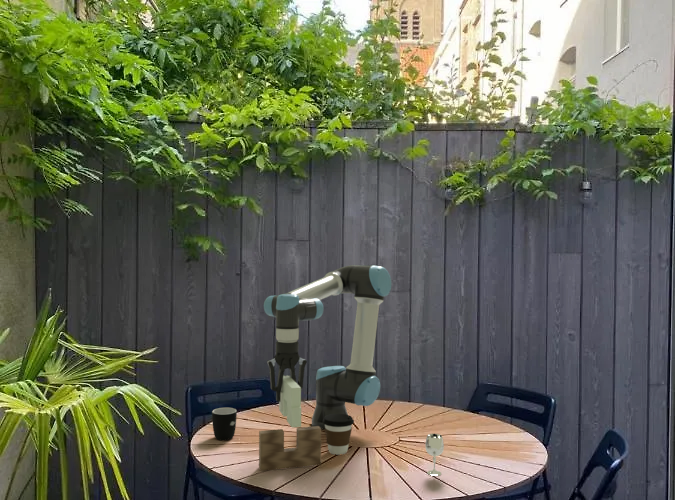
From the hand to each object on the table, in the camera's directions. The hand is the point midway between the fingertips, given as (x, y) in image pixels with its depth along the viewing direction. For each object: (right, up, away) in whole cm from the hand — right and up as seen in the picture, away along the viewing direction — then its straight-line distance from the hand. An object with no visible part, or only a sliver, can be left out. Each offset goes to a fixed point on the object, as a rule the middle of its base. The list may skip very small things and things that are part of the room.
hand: (286, 410), depth 205 cm
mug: (-25, -17, +25) cm, 39 cm away
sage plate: (+2, -1, -5) cm, 6 cm away
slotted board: (+2, -17, -5) cm, 18 cm away
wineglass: (+48, -18, -10) cm, 52 cm away
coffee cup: (+17, -17, +9) cm, 26 cm away
